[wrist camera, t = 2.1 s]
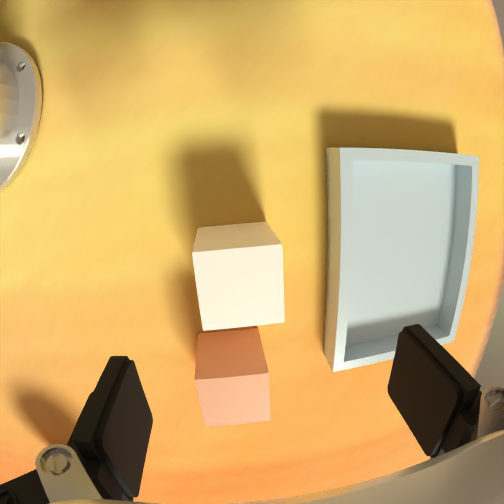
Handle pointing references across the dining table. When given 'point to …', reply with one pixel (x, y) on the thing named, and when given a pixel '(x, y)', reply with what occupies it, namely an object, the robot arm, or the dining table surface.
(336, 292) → the tray
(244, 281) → the white block
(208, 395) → the terracotta block
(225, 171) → the dining table surface
